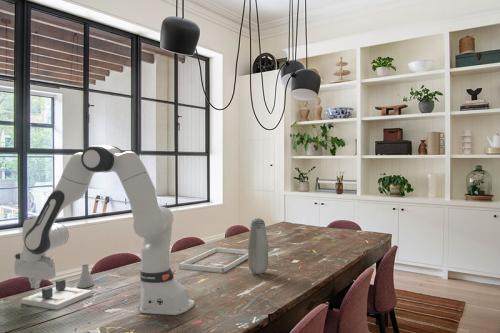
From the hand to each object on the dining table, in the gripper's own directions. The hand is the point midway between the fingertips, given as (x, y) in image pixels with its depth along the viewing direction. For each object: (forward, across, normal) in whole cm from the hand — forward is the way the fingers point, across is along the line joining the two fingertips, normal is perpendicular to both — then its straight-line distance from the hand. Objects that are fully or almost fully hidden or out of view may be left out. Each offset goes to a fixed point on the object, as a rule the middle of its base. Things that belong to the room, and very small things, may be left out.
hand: (35, 287), depth 160 cm
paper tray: (+5, -43, -84) cm, 95 cm away
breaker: (+3, -3, -10) cm, 11 cm away
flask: (+6, -4, -23) cm, 24 cm away
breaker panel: (+6, -7, -5) cm, 10 cm away
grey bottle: (+5, -74, -68) cm, 101 cm away
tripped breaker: (+3, -7, 0) cm, 8 cm away
